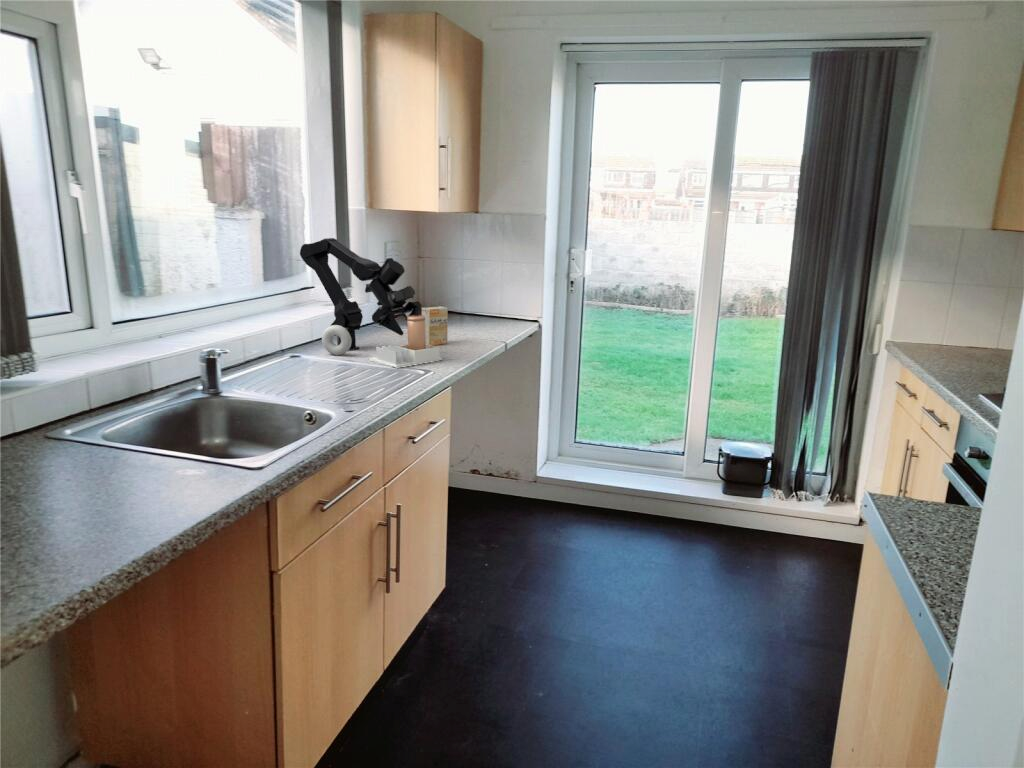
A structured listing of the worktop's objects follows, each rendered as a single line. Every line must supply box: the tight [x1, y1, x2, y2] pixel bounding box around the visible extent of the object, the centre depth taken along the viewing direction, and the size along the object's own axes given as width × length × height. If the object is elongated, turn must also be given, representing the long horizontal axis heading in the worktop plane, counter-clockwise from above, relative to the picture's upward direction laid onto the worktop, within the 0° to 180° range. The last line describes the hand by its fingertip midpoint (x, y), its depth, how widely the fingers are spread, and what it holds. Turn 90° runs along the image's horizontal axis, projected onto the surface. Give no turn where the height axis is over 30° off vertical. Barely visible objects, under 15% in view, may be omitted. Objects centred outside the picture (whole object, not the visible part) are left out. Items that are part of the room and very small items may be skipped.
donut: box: [321, 325, 352, 356], centre depth 232 cm, size 10×4×10 cm, turn 80°
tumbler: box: [406, 314, 426, 351], centre depth 226 cm, size 6×6×13 cm
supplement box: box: [421, 306, 449, 346], centre depth 252 cm, size 8×5×13 cm, turn 131°
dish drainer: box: [369, 343, 443, 367], centre depth 226 cm, size 14×18×5 cm
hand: (411, 332), depth 227 cm, fingers open, 9 cm apart
